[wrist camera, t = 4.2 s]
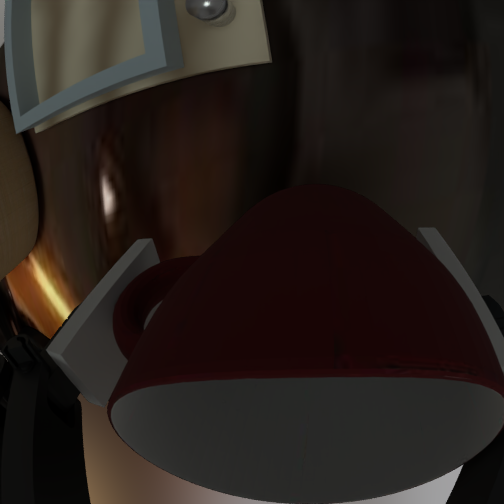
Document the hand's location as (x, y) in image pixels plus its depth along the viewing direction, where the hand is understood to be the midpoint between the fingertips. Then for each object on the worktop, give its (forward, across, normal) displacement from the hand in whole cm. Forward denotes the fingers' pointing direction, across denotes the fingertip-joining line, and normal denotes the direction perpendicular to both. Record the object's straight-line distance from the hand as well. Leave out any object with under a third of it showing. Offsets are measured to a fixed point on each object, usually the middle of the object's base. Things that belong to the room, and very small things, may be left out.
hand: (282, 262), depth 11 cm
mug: (+2, 0, 0) cm, 2 cm away
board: (+10, -11, +17) cm, 23 cm away
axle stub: (+8, -3, +12) cm, 15 cm away
